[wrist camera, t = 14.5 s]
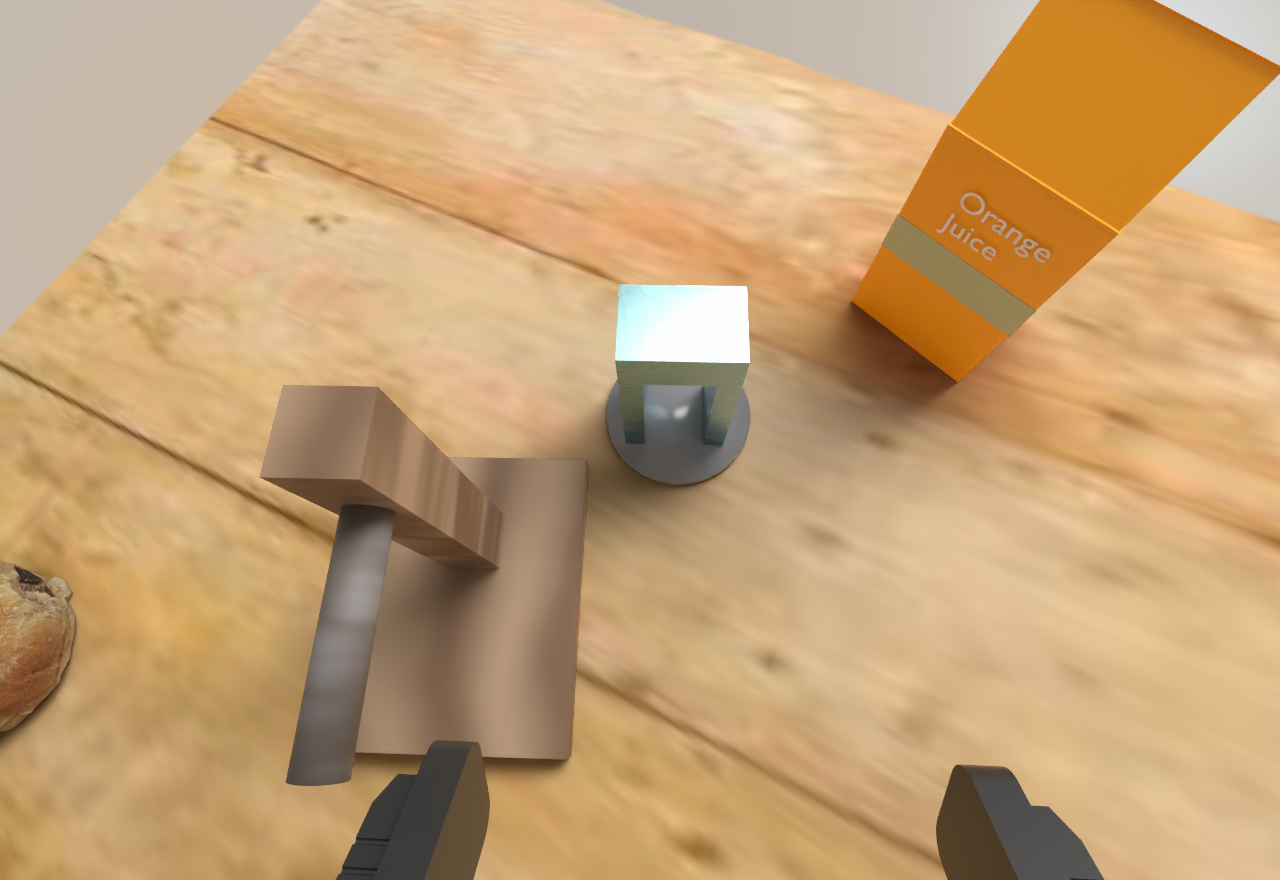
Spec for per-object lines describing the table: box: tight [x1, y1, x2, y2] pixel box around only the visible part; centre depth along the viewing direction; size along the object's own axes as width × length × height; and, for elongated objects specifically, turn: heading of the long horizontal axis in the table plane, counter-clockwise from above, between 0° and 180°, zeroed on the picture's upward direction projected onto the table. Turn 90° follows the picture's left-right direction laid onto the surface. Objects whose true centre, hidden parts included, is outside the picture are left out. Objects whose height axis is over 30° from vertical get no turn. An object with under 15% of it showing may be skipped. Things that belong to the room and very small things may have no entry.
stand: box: [260, 385, 588, 786], centre depth 26 cm, size 12×16×19 cm
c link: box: [615, 285, 750, 446], centre depth 33 cm, size 6×4×11 cm, turn 88°
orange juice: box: [852, 0, 1280, 382], centre depth 32 cm, size 8×9×20 cm
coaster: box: [607, 380, 750, 485], centre depth 39 cm, size 9×9×1 cm
